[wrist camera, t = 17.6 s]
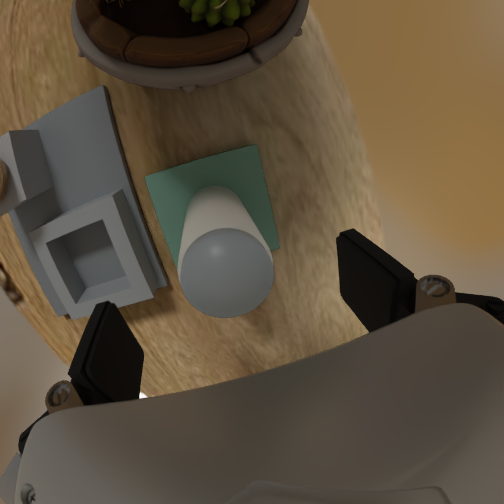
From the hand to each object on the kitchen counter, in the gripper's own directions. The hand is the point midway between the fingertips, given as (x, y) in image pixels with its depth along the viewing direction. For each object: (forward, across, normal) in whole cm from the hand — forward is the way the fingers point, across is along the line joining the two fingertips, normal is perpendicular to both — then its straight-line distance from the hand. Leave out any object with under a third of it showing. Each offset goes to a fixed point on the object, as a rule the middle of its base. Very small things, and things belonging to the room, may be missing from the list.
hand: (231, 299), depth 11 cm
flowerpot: (+16, -2, -16) cm, 23 cm away
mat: (+16, 0, +1) cm, 16 cm away
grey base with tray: (+16, +14, -3) cm, 21 cm away
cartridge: (+15, 0, +1) cm, 15 cm away
